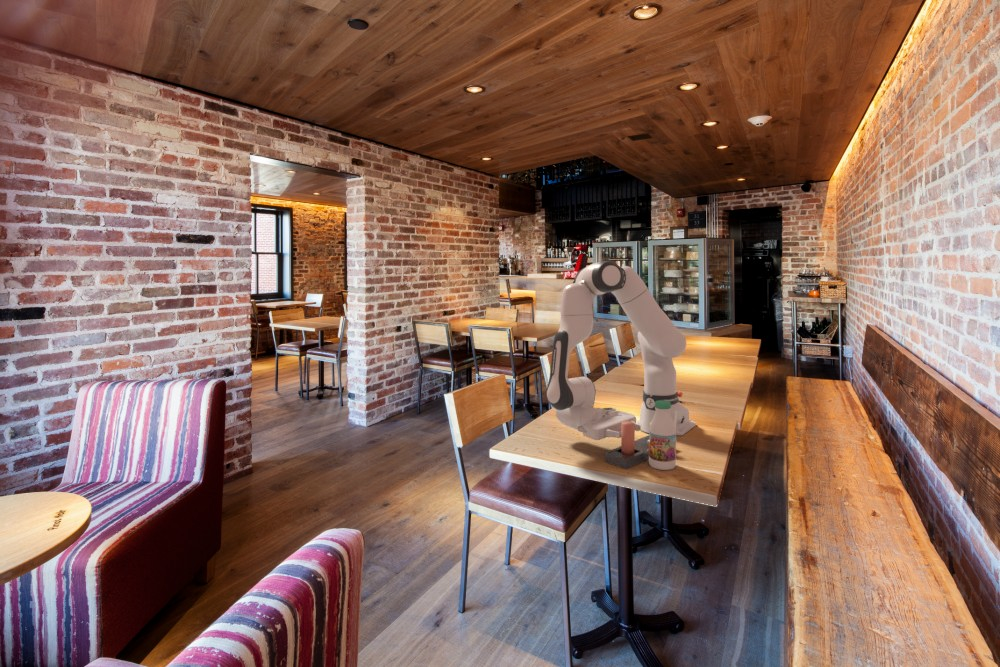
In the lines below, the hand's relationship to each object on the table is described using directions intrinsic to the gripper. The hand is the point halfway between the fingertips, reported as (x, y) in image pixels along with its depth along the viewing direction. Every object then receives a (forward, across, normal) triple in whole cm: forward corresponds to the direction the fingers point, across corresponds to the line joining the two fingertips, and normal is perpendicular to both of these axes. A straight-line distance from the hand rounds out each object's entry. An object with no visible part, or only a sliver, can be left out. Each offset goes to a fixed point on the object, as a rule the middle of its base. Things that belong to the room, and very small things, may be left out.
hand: (630, 431), depth 152 cm
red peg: (-1, 0, +10) cm, 10 cm away
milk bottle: (+9, +4, +10) cm, 14 cm away
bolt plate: (-1, +6, +10) cm, 12 cm away
